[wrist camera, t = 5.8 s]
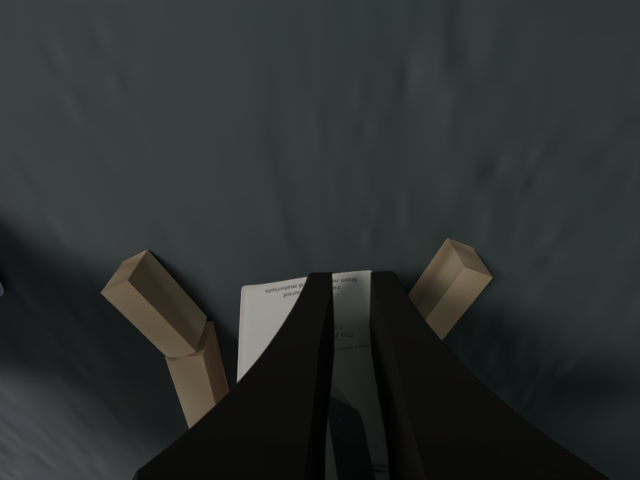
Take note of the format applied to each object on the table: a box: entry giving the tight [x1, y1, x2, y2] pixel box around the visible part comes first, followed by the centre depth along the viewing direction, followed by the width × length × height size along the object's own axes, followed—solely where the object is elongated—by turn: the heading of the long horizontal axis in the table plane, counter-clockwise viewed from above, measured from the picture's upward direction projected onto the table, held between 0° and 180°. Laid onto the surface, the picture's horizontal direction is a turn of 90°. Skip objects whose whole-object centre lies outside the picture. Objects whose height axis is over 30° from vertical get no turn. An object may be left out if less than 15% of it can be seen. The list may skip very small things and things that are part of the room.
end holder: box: [101, 238, 493, 429], centre depth 20 cm, size 14×21×2 cm, turn 2°
